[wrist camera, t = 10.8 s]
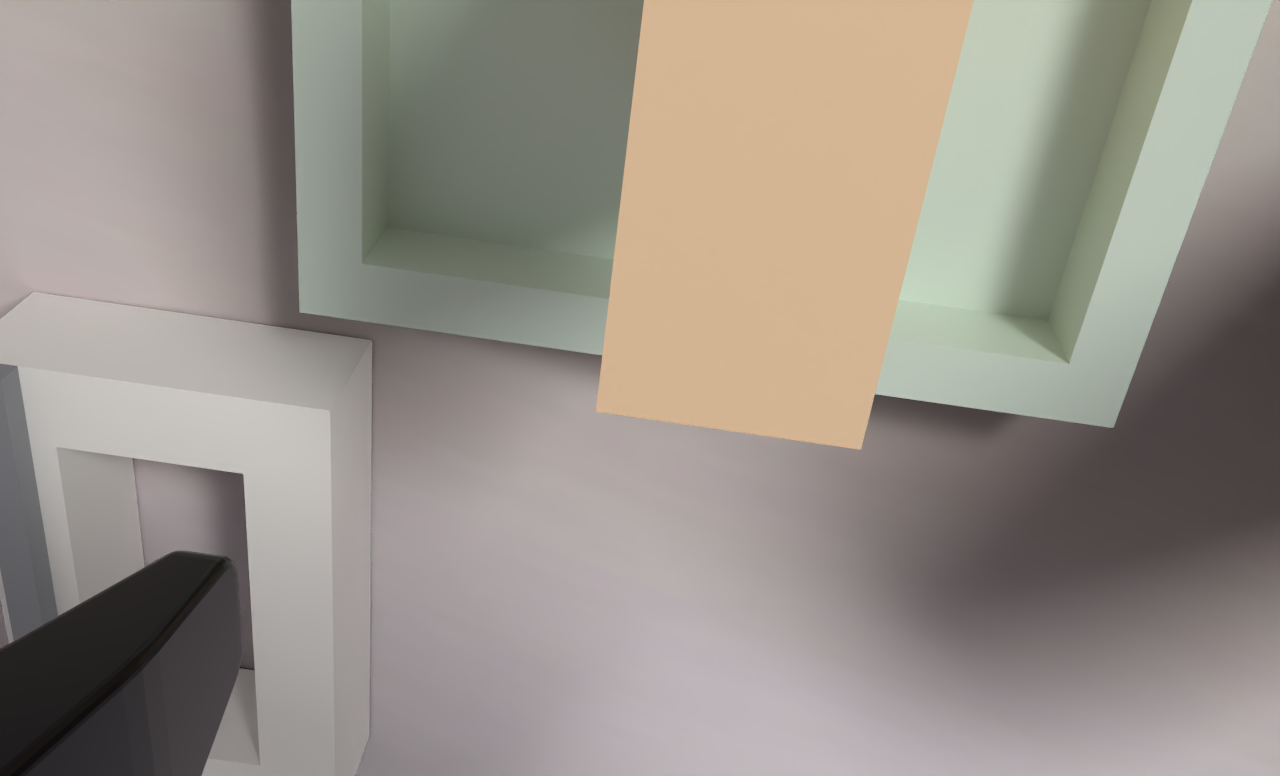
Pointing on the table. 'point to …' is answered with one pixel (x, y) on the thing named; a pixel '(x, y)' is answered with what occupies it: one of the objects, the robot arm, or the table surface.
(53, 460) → the dispenser
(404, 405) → the table surface
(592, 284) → the tray
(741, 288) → the tan cardboard block
